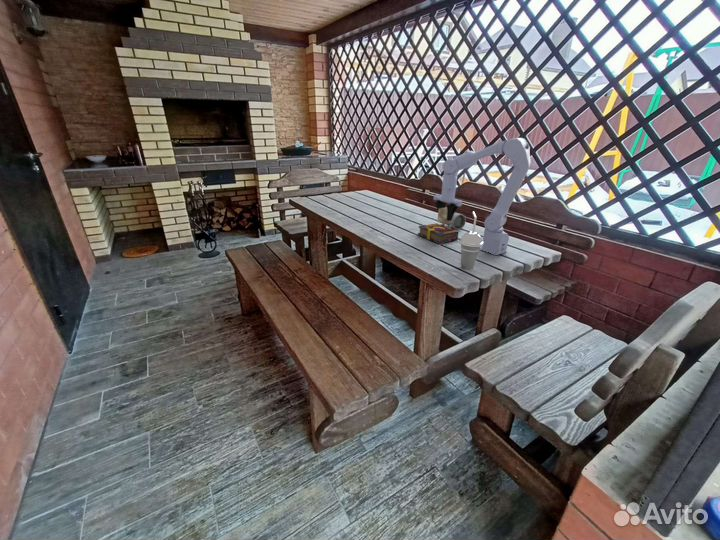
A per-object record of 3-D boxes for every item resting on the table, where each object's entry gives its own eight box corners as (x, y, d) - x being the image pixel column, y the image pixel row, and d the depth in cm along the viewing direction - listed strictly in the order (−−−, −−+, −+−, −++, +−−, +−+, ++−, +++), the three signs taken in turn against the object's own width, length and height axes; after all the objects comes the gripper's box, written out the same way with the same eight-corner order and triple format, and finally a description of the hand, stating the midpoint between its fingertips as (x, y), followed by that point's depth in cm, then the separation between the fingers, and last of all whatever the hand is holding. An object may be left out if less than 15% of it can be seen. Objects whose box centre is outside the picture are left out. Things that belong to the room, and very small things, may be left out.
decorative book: (435, 231, 162) (436, 221, 160) (459, 241, 149) (461, 230, 147) (417, 235, 156) (418, 224, 154) (441, 245, 144) (442, 234, 142)
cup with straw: (451, 268, 121) (459, 215, 112) (459, 260, 127) (467, 210, 119) (475, 274, 116) (485, 219, 108) (482, 266, 123) (491, 213, 115)
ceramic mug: (454, 224, 173) (456, 209, 169) (465, 228, 166) (467, 213, 163) (438, 226, 169) (439, 212, 166) (447, 231, 162) (449, 216, 159)
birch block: (451, 222, 147) (453, 209, 144) (444, 224, 144) (446, 210, 142) (444, 220, 150) (445, 207, 148) (437, 221, 148) (438, 208, 145)
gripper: (430, 186, 144) (426, 216, 150) (455, 192, 134) (451, 224, 139) (441, 184, 148) (437, 214, 154) (467, 190, 137) (462, 221, 143)
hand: (445, 219), depth 147 cm, fingers closed on birch block, 4 cm apart
